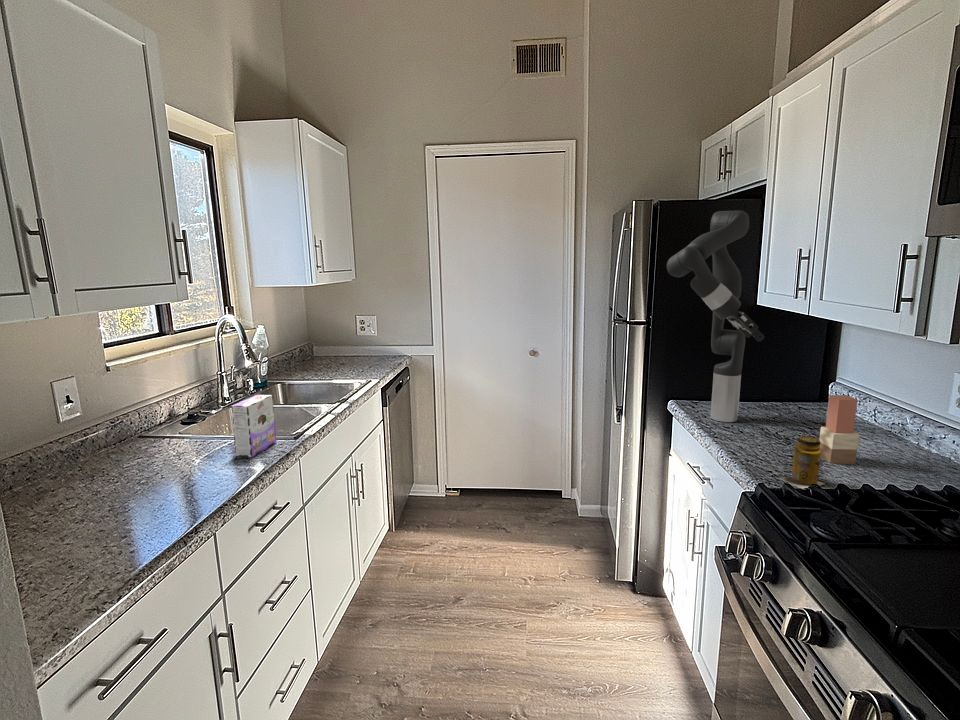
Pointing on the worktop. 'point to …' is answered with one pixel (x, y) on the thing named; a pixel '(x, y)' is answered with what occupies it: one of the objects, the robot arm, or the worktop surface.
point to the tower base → (838, 455)
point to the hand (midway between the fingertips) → (756, 337)
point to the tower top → (839, 439)
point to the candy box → (253, 425)
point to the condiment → (805, 463)
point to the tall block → (841, 413)
